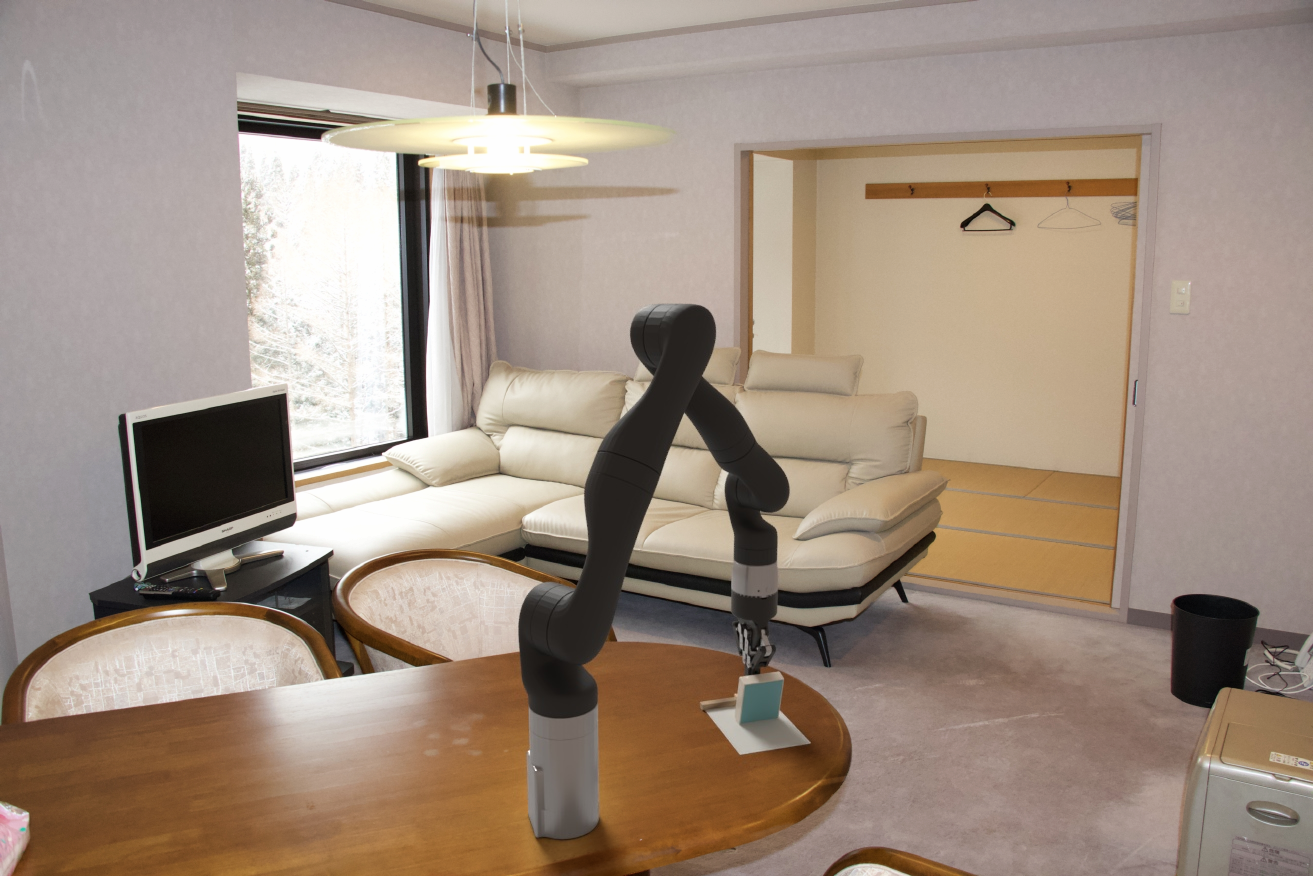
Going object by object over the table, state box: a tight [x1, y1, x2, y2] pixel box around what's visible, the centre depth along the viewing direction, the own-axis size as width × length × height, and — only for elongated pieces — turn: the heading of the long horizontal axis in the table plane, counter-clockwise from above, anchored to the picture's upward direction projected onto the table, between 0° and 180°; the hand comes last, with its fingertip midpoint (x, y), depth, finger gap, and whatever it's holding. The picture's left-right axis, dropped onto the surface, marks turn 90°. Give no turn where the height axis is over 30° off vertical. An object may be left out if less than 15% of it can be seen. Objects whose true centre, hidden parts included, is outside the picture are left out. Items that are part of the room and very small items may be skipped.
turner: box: [699, 693, 737, 712], centre depth 164 cm, size 12×5×1 cm, turn 107°
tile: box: [734, 671, 785, 725], centre depth 158 cm, size 7×2×8 cm, turn 107°
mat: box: [704, 706, 811, 756], centre depth 158 cm, size 12×18×1 cm, turn 17°
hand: (752, 686), depth 160 cm, fingers closed
